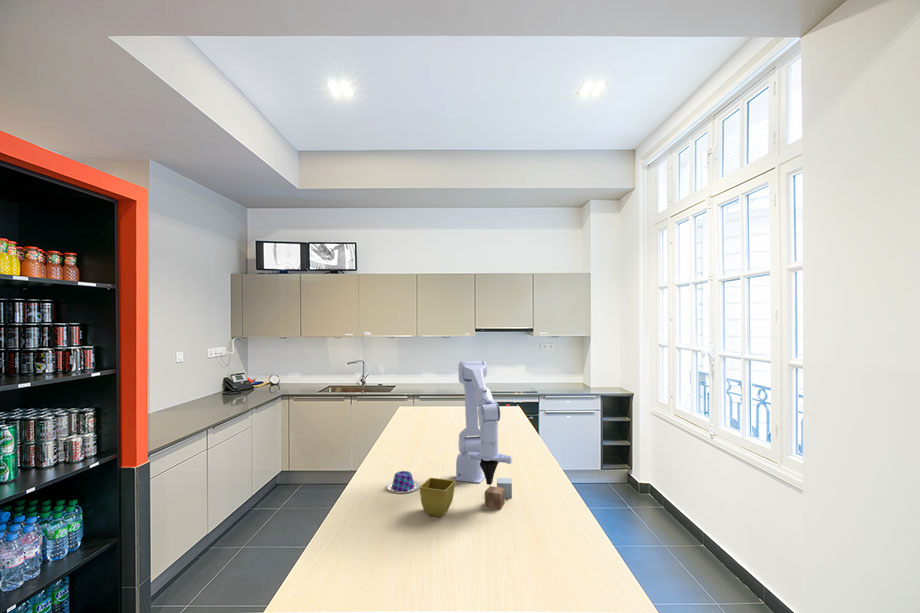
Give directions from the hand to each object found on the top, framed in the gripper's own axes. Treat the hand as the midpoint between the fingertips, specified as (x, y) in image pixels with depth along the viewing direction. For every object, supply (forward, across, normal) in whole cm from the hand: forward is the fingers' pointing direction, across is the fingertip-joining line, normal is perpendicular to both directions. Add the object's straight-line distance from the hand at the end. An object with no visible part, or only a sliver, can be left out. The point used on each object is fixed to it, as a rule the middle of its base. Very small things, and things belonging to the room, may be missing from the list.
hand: (489, 483), depth 144 cm
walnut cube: (+4, -1, 0) cm, 4 cm away
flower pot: (+7, -14, -11) cm, 19 cm away
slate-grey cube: (+7, +2, +9) cm, 12 cm away
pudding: (+7, -33, +4) cm, 34 cm away
